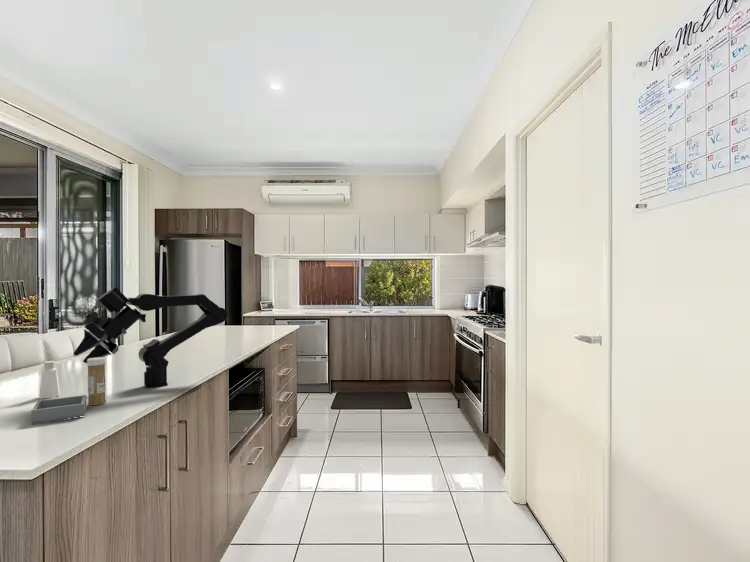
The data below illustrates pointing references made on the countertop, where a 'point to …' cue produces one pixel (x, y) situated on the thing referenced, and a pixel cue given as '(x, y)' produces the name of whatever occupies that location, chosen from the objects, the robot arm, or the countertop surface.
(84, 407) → the tray
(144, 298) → the robot arm
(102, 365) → the sprinkles bottle
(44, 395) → the pepper shaker
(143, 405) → the countertop surface
